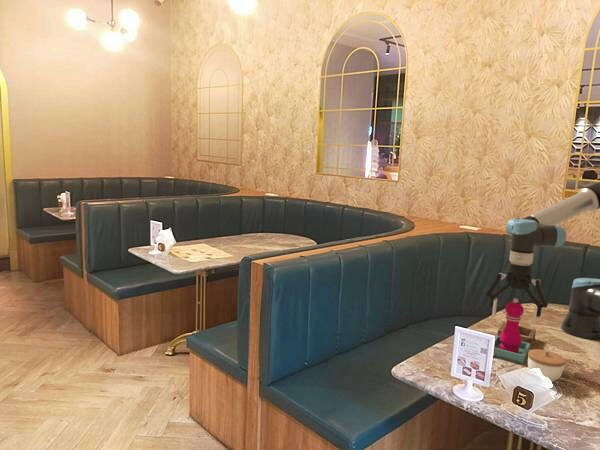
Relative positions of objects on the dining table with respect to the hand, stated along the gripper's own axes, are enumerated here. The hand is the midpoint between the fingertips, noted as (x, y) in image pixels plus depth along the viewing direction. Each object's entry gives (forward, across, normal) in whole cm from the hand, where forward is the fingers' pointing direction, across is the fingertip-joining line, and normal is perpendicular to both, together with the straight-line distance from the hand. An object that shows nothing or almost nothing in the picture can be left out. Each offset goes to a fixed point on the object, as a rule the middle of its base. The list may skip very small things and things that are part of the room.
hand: (513, 320), depth 170 cm
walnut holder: (+13, 0, +16) cm, 20 cm away
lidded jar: (+13, +13, -14) cm, 23 cm away
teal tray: (+13, 0, 0) cm, 13 cm away
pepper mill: (+12, 0, 0) cm, 12 cm away
